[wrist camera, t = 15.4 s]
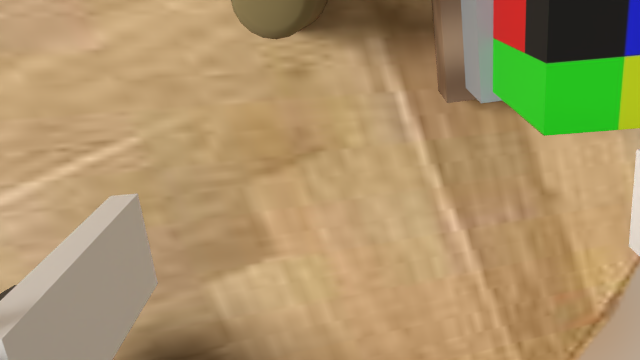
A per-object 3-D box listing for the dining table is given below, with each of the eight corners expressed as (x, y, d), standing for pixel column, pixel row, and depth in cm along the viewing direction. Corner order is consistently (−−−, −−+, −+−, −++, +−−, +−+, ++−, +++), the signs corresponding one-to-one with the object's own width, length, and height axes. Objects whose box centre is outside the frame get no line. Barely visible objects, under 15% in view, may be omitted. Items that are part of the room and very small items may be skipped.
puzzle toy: (677, -102, 32) (816, -132, 22) (658, 77, 35) (771, 117, 26) (493, -83, 32) (553, -103, 23) (492, 91, 36) (543, 135, 26)
